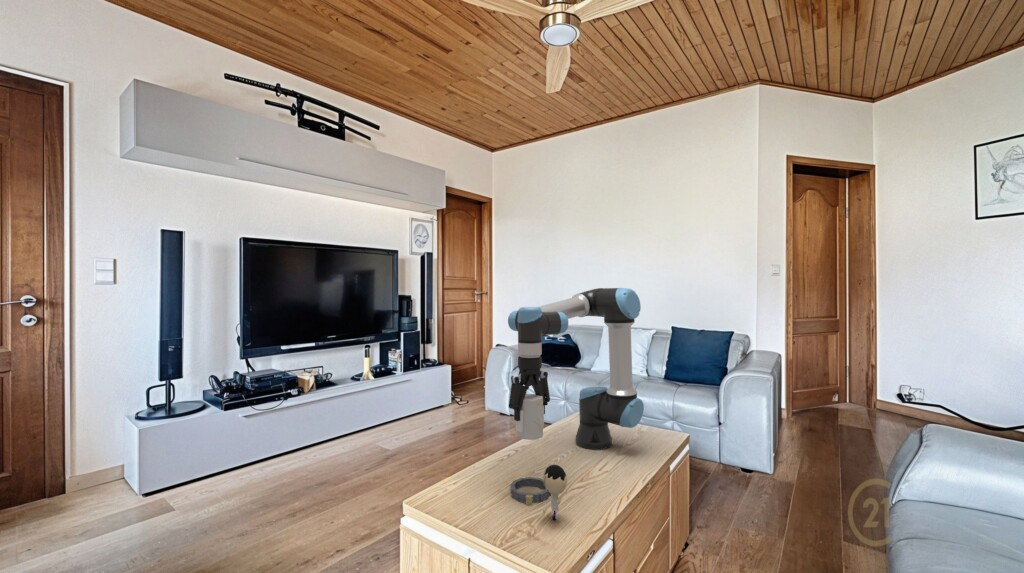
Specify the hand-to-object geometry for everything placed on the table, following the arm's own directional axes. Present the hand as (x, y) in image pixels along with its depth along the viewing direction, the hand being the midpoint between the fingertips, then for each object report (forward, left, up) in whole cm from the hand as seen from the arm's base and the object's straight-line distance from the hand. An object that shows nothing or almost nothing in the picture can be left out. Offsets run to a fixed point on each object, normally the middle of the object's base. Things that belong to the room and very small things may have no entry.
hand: (530, 427), depth 137 cm
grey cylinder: (0, 0, -2) cm, 2 cm away
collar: (0, 0, -21) cm, 21 cm away
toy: (+5, +16, -21) cm, 27 cm away
